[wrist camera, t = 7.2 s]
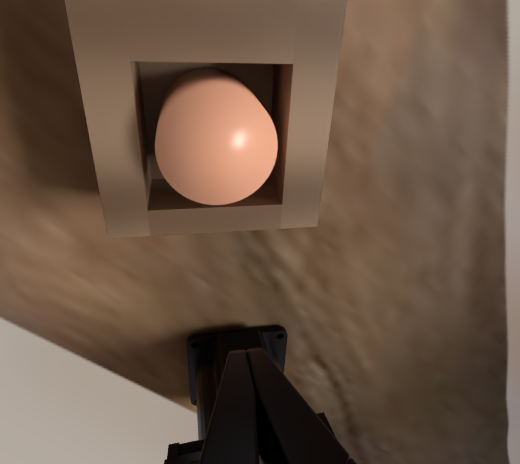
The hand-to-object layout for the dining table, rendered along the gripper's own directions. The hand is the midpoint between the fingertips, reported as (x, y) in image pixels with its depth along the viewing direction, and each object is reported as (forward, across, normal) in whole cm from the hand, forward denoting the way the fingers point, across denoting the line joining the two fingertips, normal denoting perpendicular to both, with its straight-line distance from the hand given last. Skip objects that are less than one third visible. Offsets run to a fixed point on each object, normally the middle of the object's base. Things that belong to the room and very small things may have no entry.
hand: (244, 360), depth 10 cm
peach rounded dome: (+11, 0, -3) cm, 11 cm away
